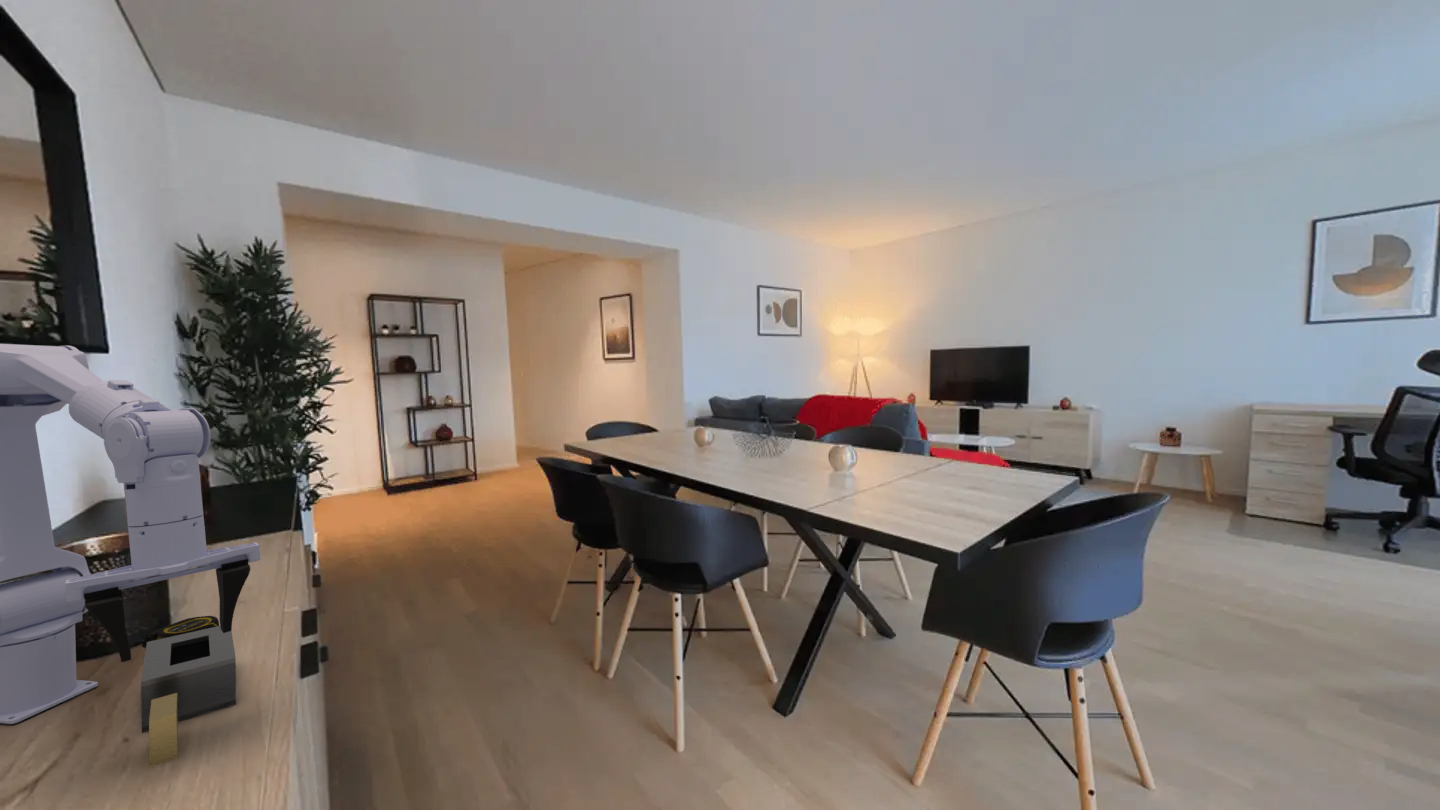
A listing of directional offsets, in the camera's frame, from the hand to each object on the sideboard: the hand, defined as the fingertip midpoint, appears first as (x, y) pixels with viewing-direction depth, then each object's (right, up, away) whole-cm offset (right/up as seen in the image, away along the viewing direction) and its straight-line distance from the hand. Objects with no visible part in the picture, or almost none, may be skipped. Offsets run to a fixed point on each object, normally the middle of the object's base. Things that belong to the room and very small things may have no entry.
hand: (178, 643), depth 58 cm
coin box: (-9, -11, +10) cm, 17 cm away
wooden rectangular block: (-2, -12, 0) cm, 12 cm away
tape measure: (-21, -10, +21) cm, 31 cm away
